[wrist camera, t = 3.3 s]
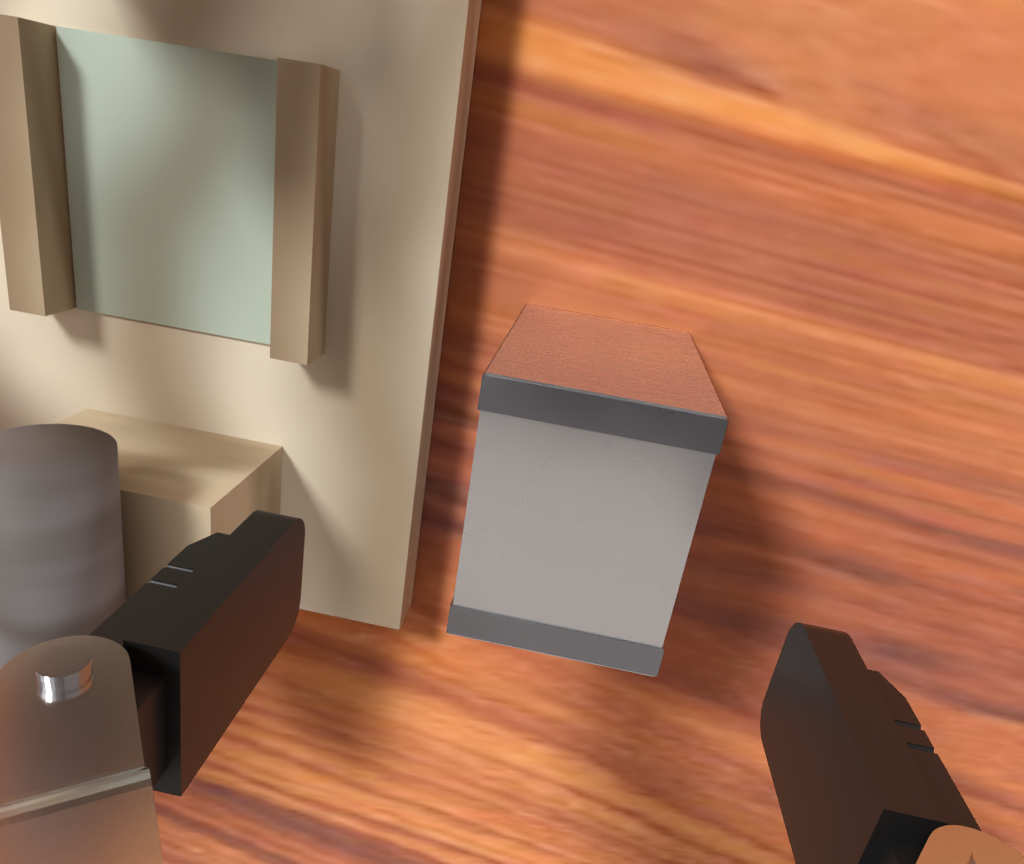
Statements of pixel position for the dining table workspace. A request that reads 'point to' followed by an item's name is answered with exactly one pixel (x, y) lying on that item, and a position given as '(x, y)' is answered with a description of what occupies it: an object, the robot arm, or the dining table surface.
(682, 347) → the block
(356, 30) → the cylinder mounting fixture
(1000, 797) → the dining table surface
